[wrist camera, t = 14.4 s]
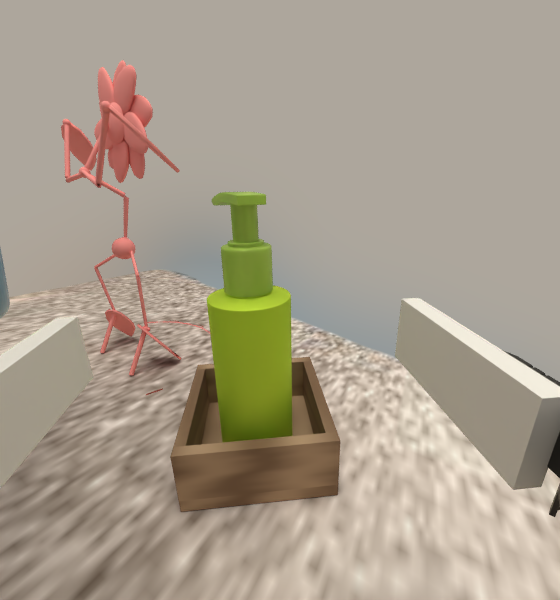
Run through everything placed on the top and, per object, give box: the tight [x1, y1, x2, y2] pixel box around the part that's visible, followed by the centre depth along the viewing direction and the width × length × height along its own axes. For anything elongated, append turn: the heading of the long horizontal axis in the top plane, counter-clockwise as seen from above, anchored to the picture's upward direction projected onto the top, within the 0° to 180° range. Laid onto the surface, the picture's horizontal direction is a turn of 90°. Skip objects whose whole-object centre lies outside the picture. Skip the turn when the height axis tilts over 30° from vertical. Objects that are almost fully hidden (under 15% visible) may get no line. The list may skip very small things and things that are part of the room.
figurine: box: [61, 60, 211, 395], centre depth 40 cm, size 15×26×35 cm, turn 49°
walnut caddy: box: [171, 357, 340, 512], centre depth 26 cm, size 11×11×5 cm
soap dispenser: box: [207, 192, 293, 443], centre depth 23 cm, size 6×7×20 cm
